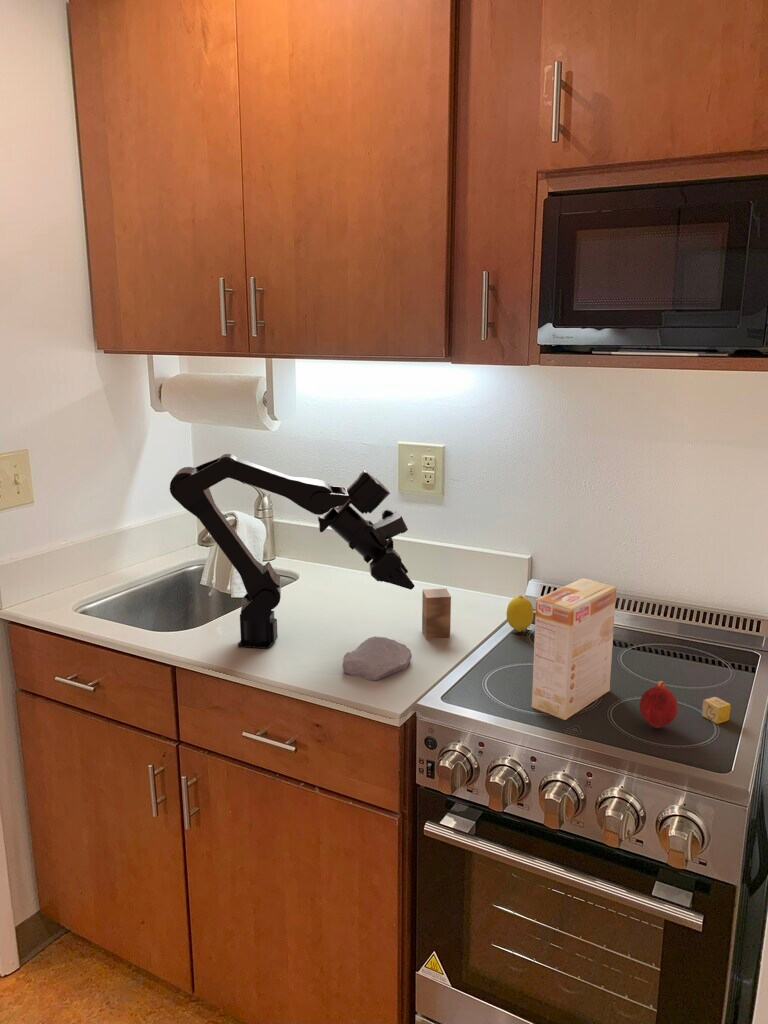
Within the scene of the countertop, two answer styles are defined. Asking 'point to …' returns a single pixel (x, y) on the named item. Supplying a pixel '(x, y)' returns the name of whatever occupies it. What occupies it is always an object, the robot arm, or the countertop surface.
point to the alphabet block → (716, 710)
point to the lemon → (520, 613)
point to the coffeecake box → (573, 647)
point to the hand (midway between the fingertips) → (409, 580)
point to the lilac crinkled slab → (377, 658)
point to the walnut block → (436, 613)
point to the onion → (658, 706)
